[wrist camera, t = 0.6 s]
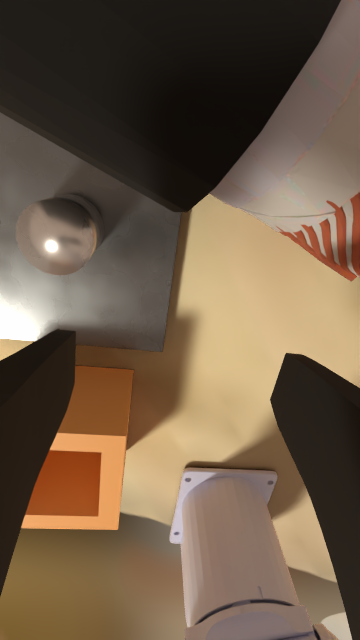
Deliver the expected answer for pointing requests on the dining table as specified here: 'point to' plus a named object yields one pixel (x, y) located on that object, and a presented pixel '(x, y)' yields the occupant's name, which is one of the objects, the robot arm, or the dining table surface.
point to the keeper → (79, 249)
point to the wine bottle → (202, 104)
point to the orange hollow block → (86, 456)
